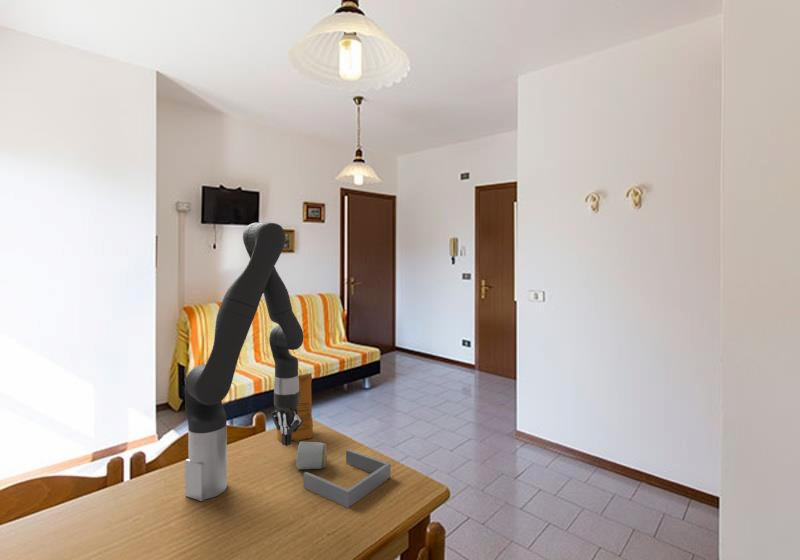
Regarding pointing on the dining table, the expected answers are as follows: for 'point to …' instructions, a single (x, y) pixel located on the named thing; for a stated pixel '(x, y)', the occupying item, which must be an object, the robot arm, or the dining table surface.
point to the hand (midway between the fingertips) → (286, 444)
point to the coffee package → (303, 410)
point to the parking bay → (357, 491)
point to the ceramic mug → (311, 455)
